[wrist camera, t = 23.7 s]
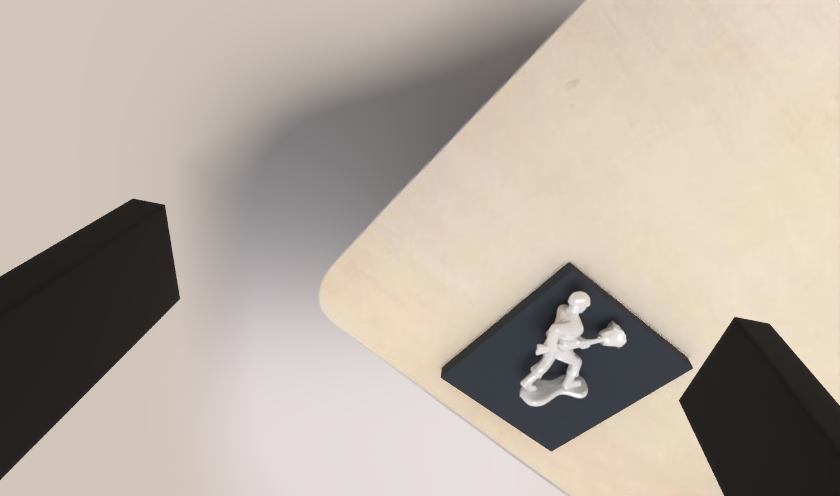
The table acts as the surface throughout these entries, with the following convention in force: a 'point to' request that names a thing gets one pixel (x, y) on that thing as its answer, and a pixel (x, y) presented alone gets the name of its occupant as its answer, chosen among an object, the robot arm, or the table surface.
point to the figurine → (565, 353)
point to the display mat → (601, 365)
